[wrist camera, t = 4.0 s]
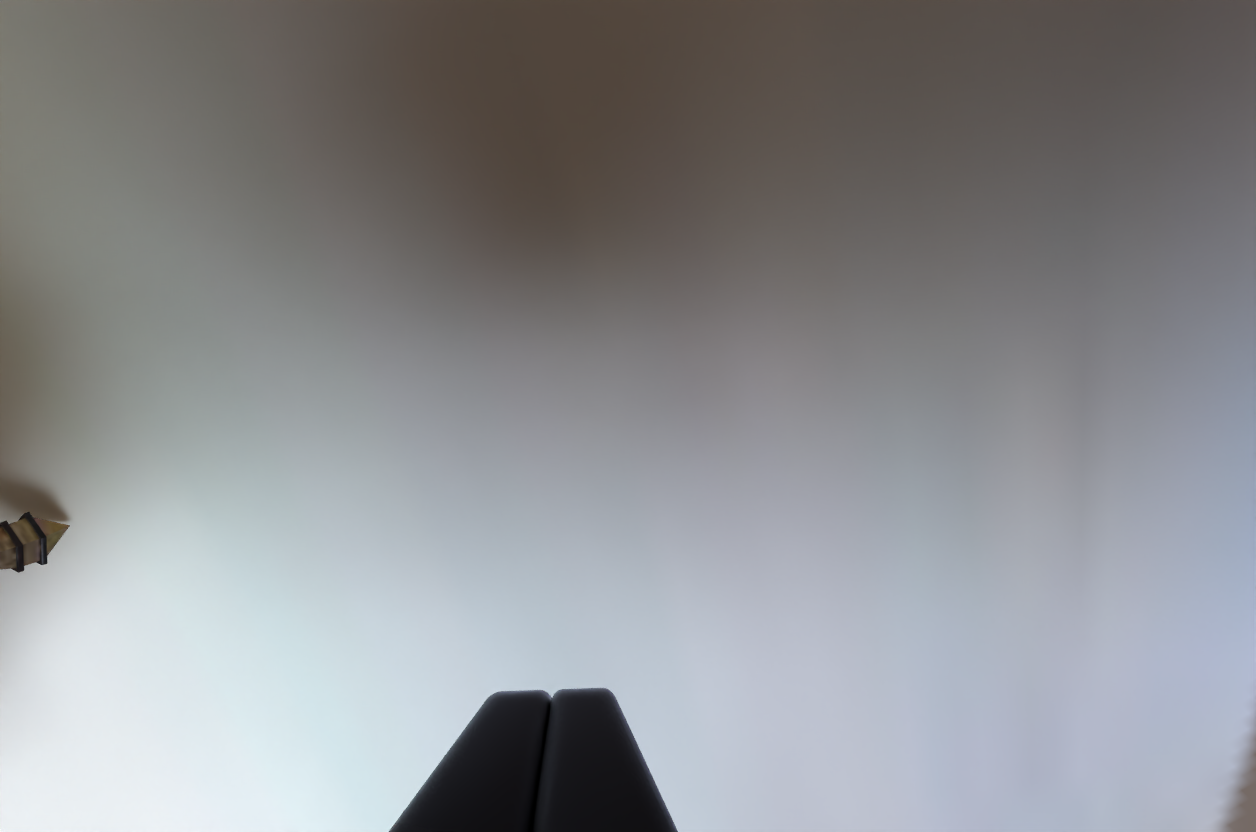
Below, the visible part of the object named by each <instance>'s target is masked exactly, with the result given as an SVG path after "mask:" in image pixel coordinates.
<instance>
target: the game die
mask: <svg viewBox="0 0 1256 832" xmlns="http://www.w3.org/2000/svg"><path fill="white" fill-rule="evenodd" d="M68 527H69V525H65V524H61V523H56V522H52V521H47V520H43V519H38V518H34V517H32V515H31V514H30V513H29V512H27V513H24V514H23V515H22V516H21V518H20V519H19V520H18V521H16V522H14V523H11V524H8V522H7V521H4V522H2V523H0V569H10V568H11V569H13V570H15V571H16V572H21V571H24V566H25V565H28V564H31V563H34V562H37V563H39V564H41V565H44V564H47V555H48V554H49V553H50V551H51V550H52V549H53V547H54V546H55V545H56V543H57V542H58V541H59V539H60V538H61V537H62V535H63V534H64V533H65V531H66V530H67V529H68Z"/></svg>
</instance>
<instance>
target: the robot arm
mask: <svg viewBox="0 0 1256 832" xmlns="http://www.w3.org/2000/svg"><path fill="white" fill-rule="evenodd" d="M389 832H678V831H677V829H676V827H675V825H674V822H673V820H672V818H671V816H670V814H669V812H668V809H667V807H666V805H665V803H664V801H663V799H662V797H661V794H660V792H659V790H658V788H657V786H656V784H655V781H654V779H653V777H652V775H651V773H650V771H649V769H648V766H647V764H646V762H645V760H644V758H643V756H642V753H641V751H640V749H639V747H638V745H637V743H636V741H635V738H634V736H633V734H632V732H631V730H630V728H629V725H628V723H627V721H626V719H625V717H624V715H623V713H622V710H621V708H620V706H619V704H618V702H617V700H616V698H615V696H614V694H613V693H612V692H611V691H610V690H608V689H606V688H588V689H562V690H559V691H557V692H556V693H555V694H554V696H553V698H551V696H550V695H549V694H548V693H547V692H545V691H543V690H530V691H502V692H497V693H494V694H493V695H491V696H490V697H488V699H487V700H486V701H485V702H484V704H483V705H482V706H481V708H480V709H479V711H478V712H477V713H476V715H475V716H474V717H473V719H472V720H471V721H470V723H469V724H468V725H467V727H466V728H465V729H464V731H463V732H462V734H461V735H460V736H459V738H458V739H457V740H456V742H455V743H454V744H453V746H452V747H451V748H450V750H449V751H448V752H447V754H446V755H445V757H444V758H443V759H442V761H441V762H440V763H439V765H438V766H437V767H436V769H435V770H434V771H433V773H432V774H431V775H430V777H429V778H428V780H427V781H426V782H425V784H424V785H423V786H422V788H421V789H420V790H419V792H418V793H417V794H416V796H415V797H414V798H413V800H412V801H411V803H410V804H409V805H408V807H407V808H406V809H405V811H404V812H403V813H402V815H401V816H400V817H399V819H398V820H397V821H396V823H395V824H394V826H393V827H392V828H391V830H390V831H389Z"/></svg>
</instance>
